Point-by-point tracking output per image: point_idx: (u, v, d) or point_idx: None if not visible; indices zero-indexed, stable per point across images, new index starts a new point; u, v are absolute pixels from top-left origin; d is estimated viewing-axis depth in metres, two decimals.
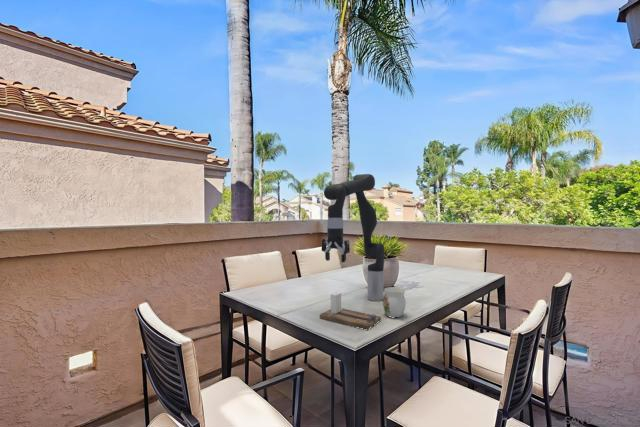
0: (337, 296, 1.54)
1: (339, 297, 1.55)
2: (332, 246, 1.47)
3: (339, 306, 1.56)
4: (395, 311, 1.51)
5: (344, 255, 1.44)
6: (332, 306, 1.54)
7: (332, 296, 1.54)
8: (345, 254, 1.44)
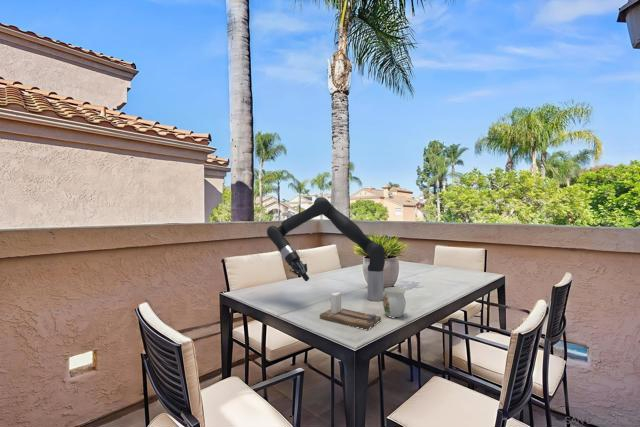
0: (337, 296, 1.54)
1: (339, 297, 1.55)
2: None
3: (339, 306, 1.56)
4: (395, 311, 1.51)
5: None
6: (332, 306, 1.54)
7: (332, 296, 1.54)
8: (302, 274, 1.66)
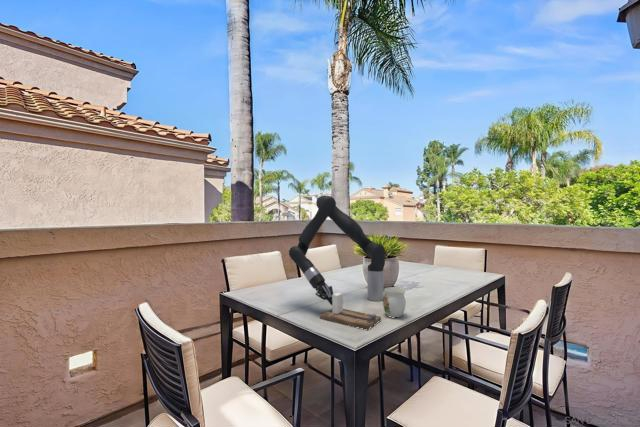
0: (338, 296, 1.53)
1: (341, 297, 1.55)
2: None
3: (341, 306, 1.55)
4: (395, 311, 1.51)
5: (328, 300, 1.57)
6: (333, 306, 1.53)
7: (334, 296, 1.53)
8: (328, 299, 1.56)
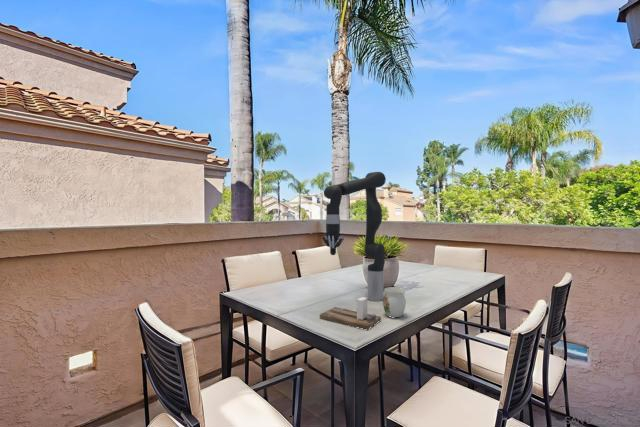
0: (363, 301, 1.45)
1: (365, 302, 1.47)
2: None
3: (365, 312, 1.47)
4: (395, 311, 1.51)
5: (334, 249, 1.67)
6: (358, 312, 1.46)
7: (358, 301, 1.45)
8: (335, 248, 1.67)
